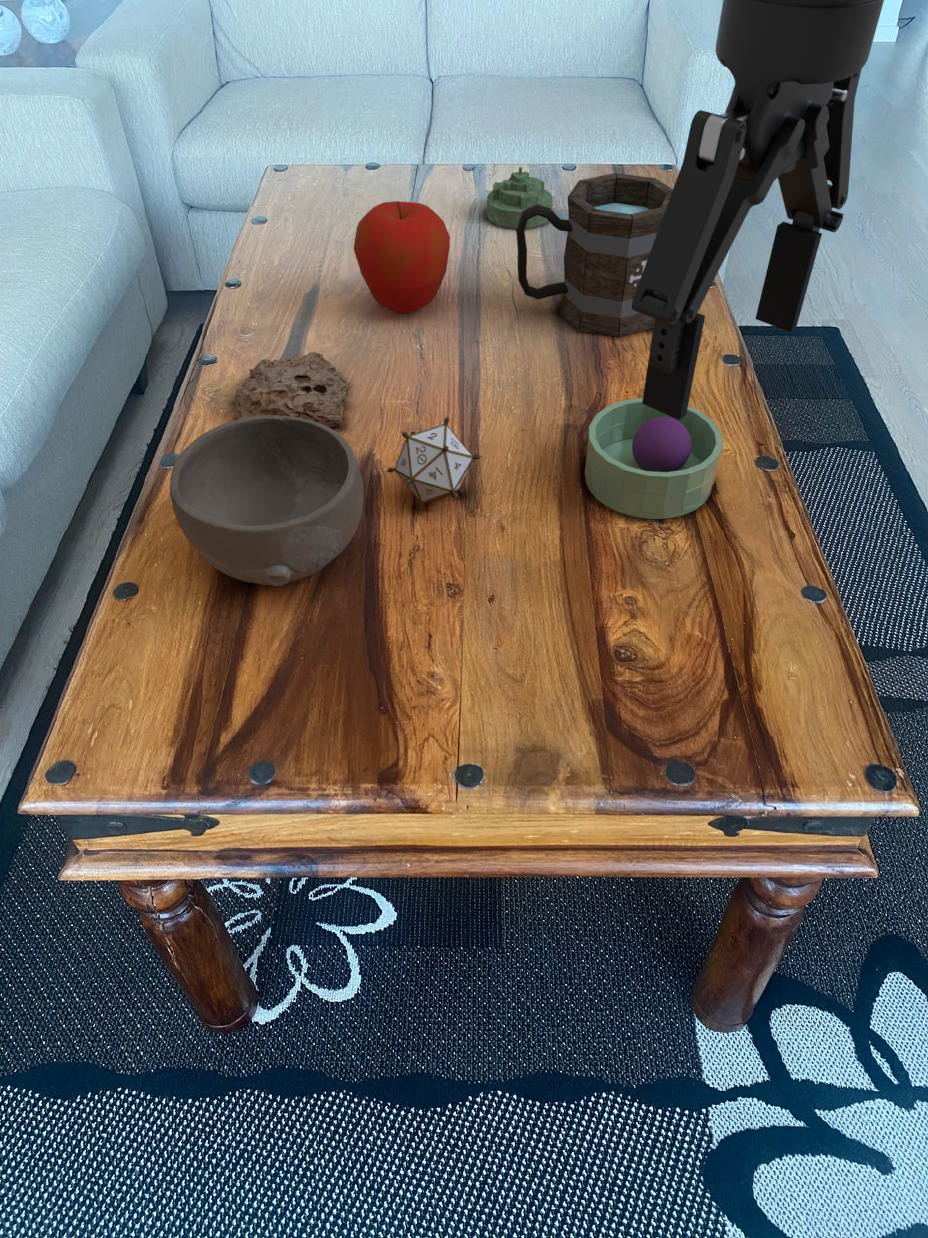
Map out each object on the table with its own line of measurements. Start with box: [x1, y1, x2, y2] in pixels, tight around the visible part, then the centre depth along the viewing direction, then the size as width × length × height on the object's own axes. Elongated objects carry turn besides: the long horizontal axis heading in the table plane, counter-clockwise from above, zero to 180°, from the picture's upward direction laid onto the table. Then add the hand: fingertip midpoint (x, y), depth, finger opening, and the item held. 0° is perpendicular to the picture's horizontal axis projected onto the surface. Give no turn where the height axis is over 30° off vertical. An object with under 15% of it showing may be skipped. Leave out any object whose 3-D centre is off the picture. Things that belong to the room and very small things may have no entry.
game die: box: [386, 415, 483, 512], centre depth 93 cm, size 9×8×10 cm
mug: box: [515, 172, 673, 338], centre depth 116 cm, size 20×14×15 cm
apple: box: [353, 200, 451, 314], centre depth 118 cm, size 12×12×14 cm
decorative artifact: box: [486, 166, 553, 230], centre depth 140 cm, size 10×7×10 cm
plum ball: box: [632, 417, 691, 472], centre depth 95 cm, size 6×6×6 cm
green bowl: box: [584, 397, 724, 520], centre depth 95 cm, size 13×13×6 cm
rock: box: [234, 351, 349, 429], centre depth 108 cm, size 14×13×4 cm
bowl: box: [169, 415, 365, 587], centre depth 87 cm, size 17×18×10 cm
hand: (722, 364), depth 60 cm, fingers open, 13 cm apart
